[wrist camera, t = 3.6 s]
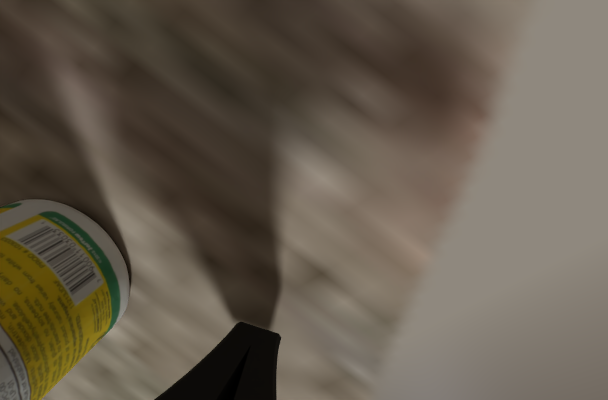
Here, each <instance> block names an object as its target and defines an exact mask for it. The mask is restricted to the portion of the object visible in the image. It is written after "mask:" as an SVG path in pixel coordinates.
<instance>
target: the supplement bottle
mask: <svg viewBox="0 0 608 400" xmlns="http://www.w3.org/2000/svg"><path fill="white" fill-rule="evenodd" d="M129 292H130V284H129V276H128V271H127V266H126V264H125V261H124V259H123V257H122V255H121V253H120V251H119V249H118V248H117V246H116V245H115V243H114V242H113V240H112V239H111V238H110V236H109V235H108V234H107V233H106V232H105V231H104V230H103V229H102V228H101V227H100V226H99V225H98V224H97V223H96V222H94V221H93V220H92V219H90V218H89V217H88V216H86V215H85V214H83V213H82V212H80V211H78V210H76V209H74V208H72V207H70V206H67V205H65V204H62V203H58V202H55V201H50V200H42V199H27V200H21V201H18V202H14V203H11V204H8V205H6V206H3V207H0V400H41V399H42V398H43V397H44V396H45V395H46V394H47V393H48V392H49V391H50V390H51V389H52V388H53V387H54V386H55V385H56V384H57V383H58V382H59V381H60V380H61V379H62V378H63V377H64V376H65V375H66V374H67V373H68V372H69V371H70V370H71V369H72V368H73V367H74V366H75V365H76V364H77V363H78V362H79V361H80V359H81V358H82V357H83V356H84V355H85V354H86V353H88V352H89V351H90V350H91V349H92V348H93V347H94V346H95V345H96V344H97V343H98V342H99V341H100V340H101V339H102V338H103V337H104V336H105V335H106V333H107V332H108V331H109V330H110V329H111V328H112V327H113V326H114V325H115V324H116V323H117V322H118V321H119V320H120V318H121V317H122V315H123V314H124V312H125V310H126V308H127V304H128V299H129Z"/></svg>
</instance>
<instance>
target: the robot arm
mask: <svg viewBox="0 0 608 400" xmlns="http://www.w3.org/2000/svg"><path fill="white" fill-rule="evenodd" d="M280 340H281V337H280V335H279V334H278V333H275V332H272V331H269V330H265V329H262V328H259V327H256V326H253V325H250V324H247V323H244V322H239V323H237V324H236V325H235V326H234V328H233V329H232V330H231V331H230V332H229V333H228V335H227V336H226V337H225V338H224V339H223V340H222V341H221V342H220V343H219V344H218V345H217V346H216V347H215V348H214V349H213V350H212V351H211V352H210V353H209V354H208V355H207V356H206V357H205V358H203V359H202V360H201V361H200V362H199V363H198V364H197V365H196V366H195V367H194V368H193V369H192V370H190V371H189V372H188V373H187V374H186V375H184V376H183V377H182V378H181V379H180V380H178V381H177V382H176V383H175V384H174V385H172V386H171V387H170V388H169V389H168V390H166V391H165V392H164V393H162V394H161V395H160V396H158V397H157V398H156V399H155V400H276V369H277V356H278V349H279V344H280Z"/></svg>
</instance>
